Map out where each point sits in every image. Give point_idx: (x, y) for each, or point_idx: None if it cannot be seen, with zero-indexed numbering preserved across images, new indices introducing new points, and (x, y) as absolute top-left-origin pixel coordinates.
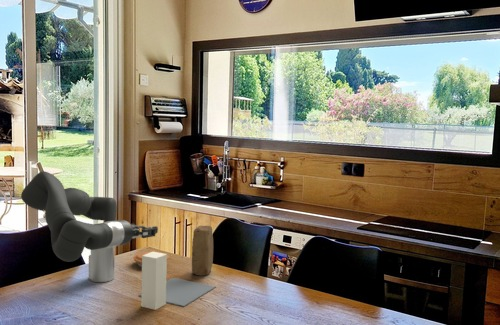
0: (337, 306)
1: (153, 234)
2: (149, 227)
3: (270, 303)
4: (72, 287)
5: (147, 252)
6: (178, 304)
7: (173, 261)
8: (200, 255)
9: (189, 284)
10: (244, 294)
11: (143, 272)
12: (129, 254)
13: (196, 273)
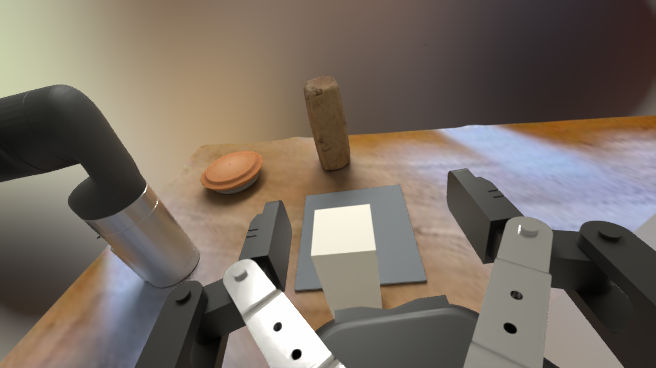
0: (627, 138)
1: (610, 287)
2: (532, 235)
3: (538, 182)
4: (120, 340)
5: (219, 162)
6: (410, 281)
7: (265, 156)
8: (335, 137)
9: (352, 200)
10: None
11: (329, 288)
12: (183, 171)
13: (334, 168)
